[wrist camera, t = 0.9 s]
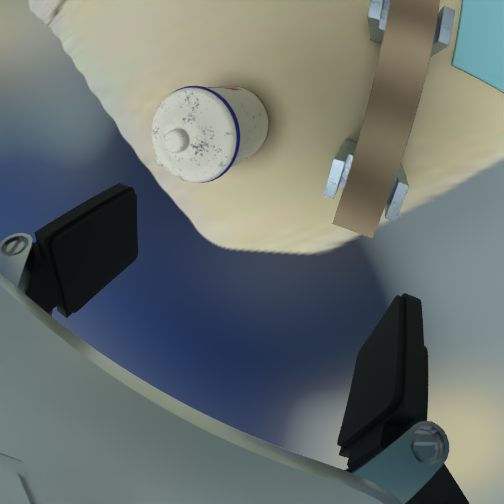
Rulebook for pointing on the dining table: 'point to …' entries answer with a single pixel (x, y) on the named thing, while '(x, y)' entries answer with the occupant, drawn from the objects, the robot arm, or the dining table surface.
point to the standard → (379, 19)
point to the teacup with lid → (207, 131)
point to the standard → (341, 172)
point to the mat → (481, 41)
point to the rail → (388, 113)
